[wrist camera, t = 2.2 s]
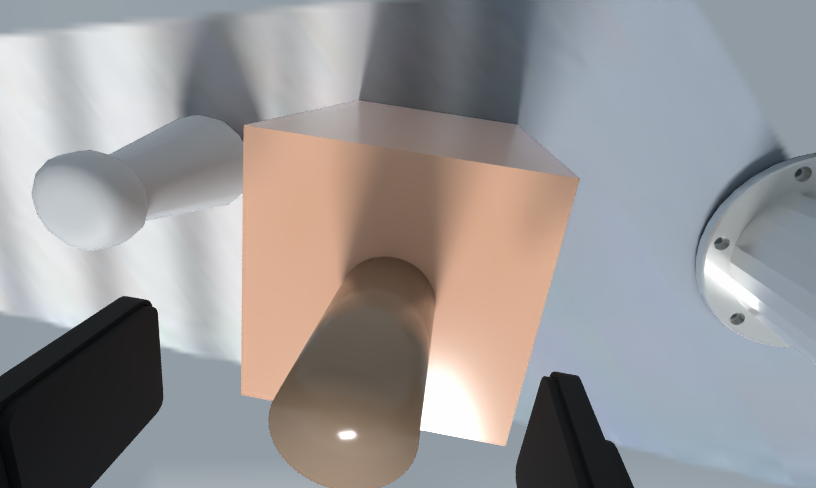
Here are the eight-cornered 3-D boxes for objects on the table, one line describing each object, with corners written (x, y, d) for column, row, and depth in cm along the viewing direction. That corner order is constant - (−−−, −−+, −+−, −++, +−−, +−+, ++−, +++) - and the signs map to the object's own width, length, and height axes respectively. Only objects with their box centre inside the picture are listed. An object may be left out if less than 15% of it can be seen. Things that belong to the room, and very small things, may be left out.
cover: (517, 124, 28) (667, 254, 7) (485, 271, 32) (526, 634, 11) (358, 100, 29) (90, 158, 8) (344, 247, 32) (133, 548, 12)
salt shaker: (176, 110, 30) (-18, 132, 18) (259, 113, 30) (117, 138, 17) (189, 196, 32) (22, 268, 20) (267, 200, 32) (145, 277, 19)
